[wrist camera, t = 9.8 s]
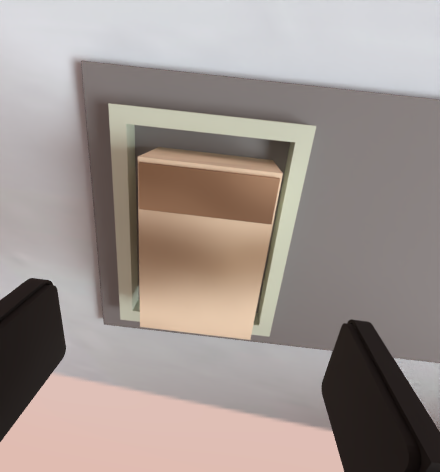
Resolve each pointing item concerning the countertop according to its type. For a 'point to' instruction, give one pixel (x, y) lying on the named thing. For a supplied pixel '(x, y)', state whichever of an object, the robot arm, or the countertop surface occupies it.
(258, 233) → the block
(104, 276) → the mat
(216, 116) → the tray
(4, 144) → the countertop surface
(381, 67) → the countertop surface
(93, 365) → the countertop surface
